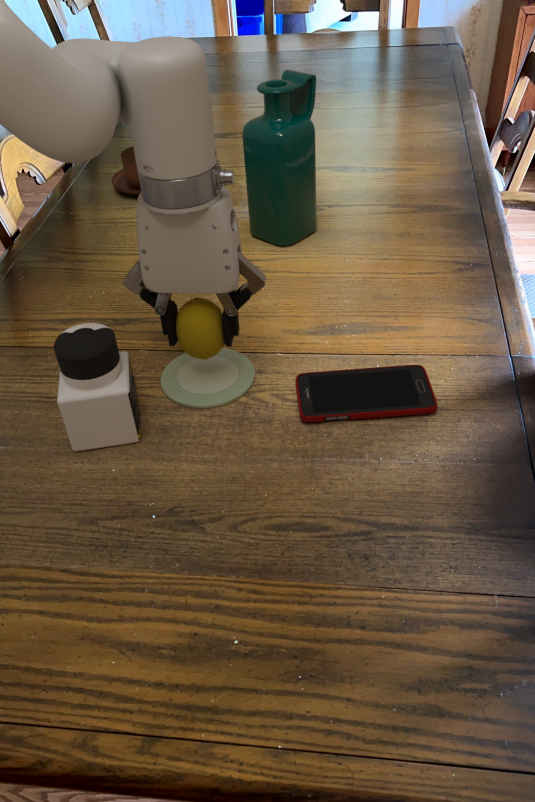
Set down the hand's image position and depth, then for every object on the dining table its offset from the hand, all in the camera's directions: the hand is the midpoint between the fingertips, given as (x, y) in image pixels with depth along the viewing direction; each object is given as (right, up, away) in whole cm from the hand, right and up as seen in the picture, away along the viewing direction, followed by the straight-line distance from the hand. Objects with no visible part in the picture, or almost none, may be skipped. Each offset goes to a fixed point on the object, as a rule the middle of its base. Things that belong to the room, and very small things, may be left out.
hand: (202, 338), depth 80 cm
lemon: (0, -2, +2) cm, 3 cm away
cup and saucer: (-14, +31, +47) cm, 58 cm away
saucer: (0, -4, +4) cm, 6 cm away
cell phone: (+18, -7, -1) cm, 19 cm away
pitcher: (+10, +19, +31) cm, 38 cm away
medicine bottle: (-10, -10, -2) cm, 14 cm away
